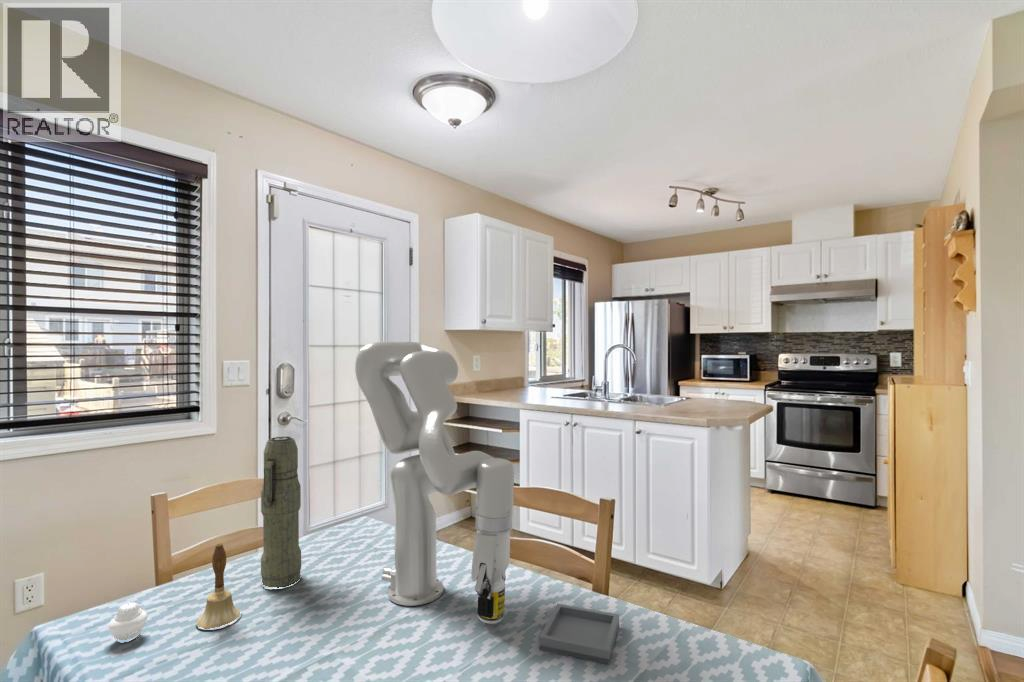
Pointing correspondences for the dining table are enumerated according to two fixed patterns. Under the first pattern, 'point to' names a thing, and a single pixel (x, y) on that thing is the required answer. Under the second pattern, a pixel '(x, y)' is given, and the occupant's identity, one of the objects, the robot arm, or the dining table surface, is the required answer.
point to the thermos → (280, 513)
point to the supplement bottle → (496, 602)
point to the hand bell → (218, 596)
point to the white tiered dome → (128, 621)
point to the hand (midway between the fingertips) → (491, 607)
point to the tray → (580, 633)
